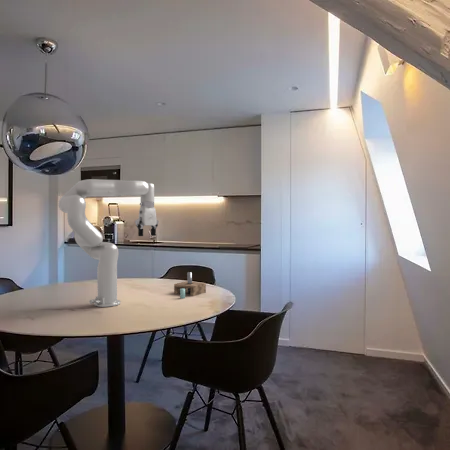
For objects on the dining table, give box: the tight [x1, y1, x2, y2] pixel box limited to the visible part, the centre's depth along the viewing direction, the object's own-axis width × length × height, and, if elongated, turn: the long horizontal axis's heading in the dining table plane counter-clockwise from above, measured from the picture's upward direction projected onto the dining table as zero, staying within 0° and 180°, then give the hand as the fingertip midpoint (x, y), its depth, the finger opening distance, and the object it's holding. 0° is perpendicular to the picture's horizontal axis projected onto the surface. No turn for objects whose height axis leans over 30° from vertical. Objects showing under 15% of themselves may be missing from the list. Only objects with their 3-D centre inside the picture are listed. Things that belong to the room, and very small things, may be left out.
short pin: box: [179, 289, 186, 300], centre depth 197 cm, size 3×3×5 cm
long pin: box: [186, 271, 193, 295], centre depth 210 cm, size 3×3×12 cm
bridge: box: [173, 280, 207, 297], centre depth 211 cm, size 12×14×6 cm
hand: (147, 235), depth 201 cm, fingers open, 9 cm apart
